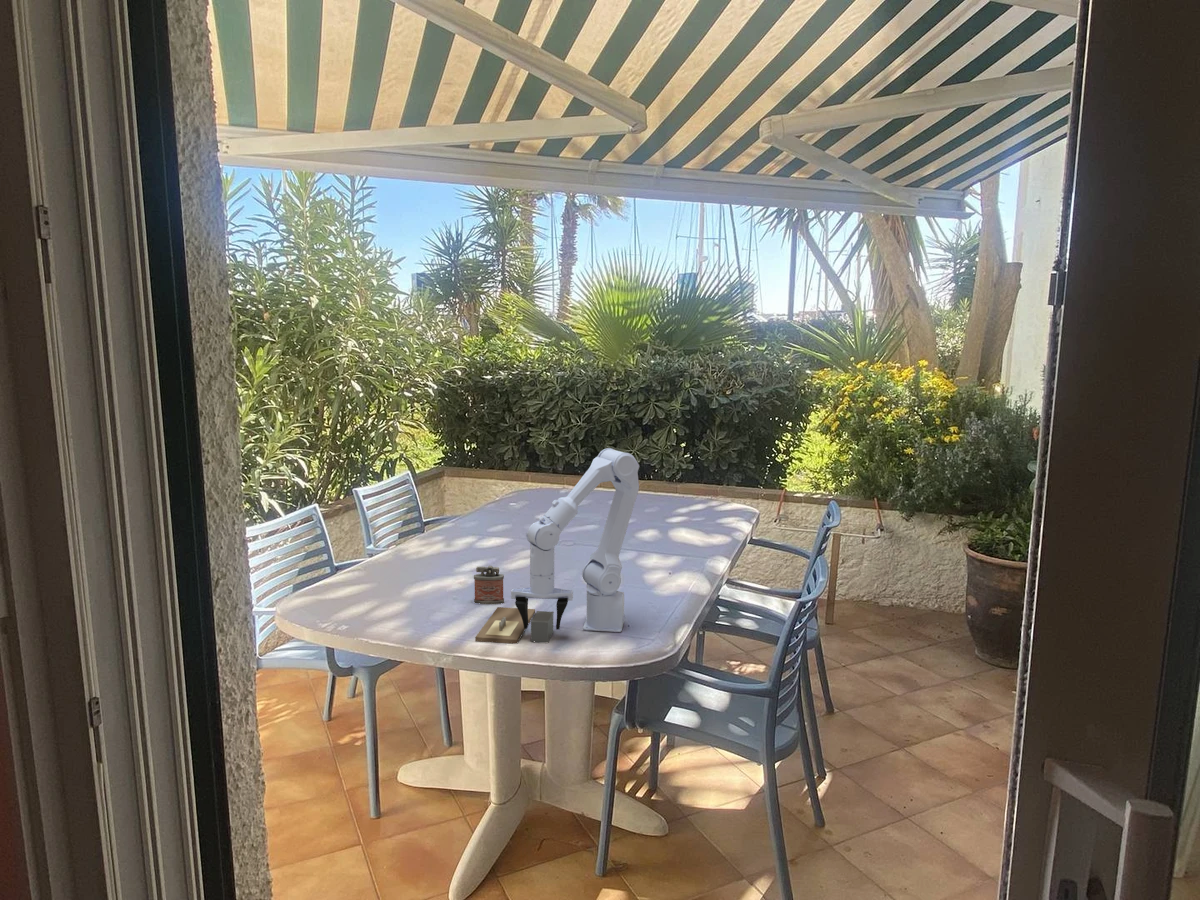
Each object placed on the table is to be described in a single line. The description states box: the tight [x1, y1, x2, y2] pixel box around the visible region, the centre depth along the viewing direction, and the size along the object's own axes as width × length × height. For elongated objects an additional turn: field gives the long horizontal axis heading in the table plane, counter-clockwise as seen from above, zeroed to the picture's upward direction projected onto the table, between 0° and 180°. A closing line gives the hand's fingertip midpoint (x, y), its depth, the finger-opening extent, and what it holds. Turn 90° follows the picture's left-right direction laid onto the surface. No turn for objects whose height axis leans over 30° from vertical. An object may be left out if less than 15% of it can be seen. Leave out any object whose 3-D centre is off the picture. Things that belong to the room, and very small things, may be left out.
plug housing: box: [530, 610, 554, 643], centre depth 173 cm, size 4×7×5 cm, turn 173°
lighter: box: [473, 565, 505, 605], centre depth 196 cm, size 8×3×10 cm, turn 92°
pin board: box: [474, 606, 536, 644], centre depth 180 cm, size 10×20×3 cm, turn 173°
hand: (542, 627), depth 173 cm, fingers open, 7 cm apart
